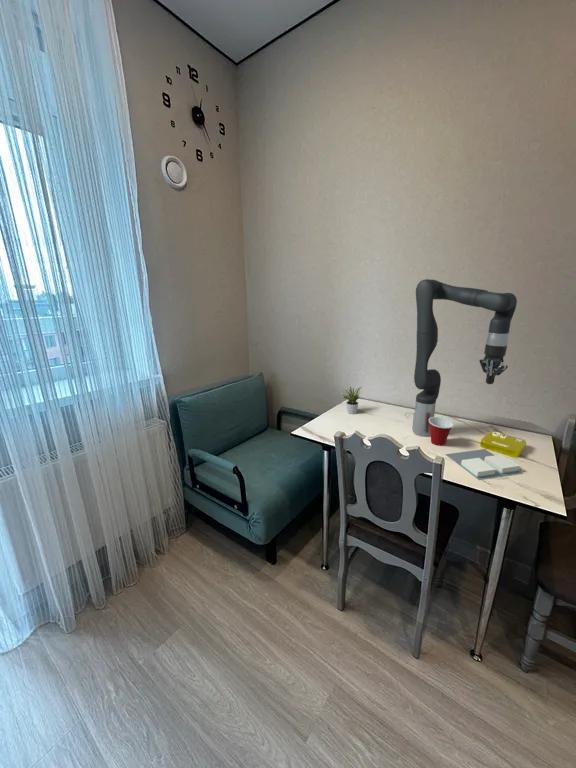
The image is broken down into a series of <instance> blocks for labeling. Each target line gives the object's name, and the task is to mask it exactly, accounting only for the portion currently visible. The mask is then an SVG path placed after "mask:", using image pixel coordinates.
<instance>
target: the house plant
mask: <svg viewBox="0 0 576 768" xmlns="http://www.w3.org/2000/svg"><path fill="white" fill-rule="evenodd" d="M362 388H363V386H361V387H359V388H356V389H355V388H354V387H353V388H352V387H351V386H349V388H347V389H345V388H343V391H345V393H347V394H344V393H340V395H341V396H343V397H341V400H343V399H345V400H347V401H346V409H347V414H348V415H356V414H357V412H358V407H359V402H358V401H357V400H359V399H361V400H363V398H360V394H361V391H362Z"/></svg>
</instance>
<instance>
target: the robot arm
mask: <svg viewBox="0 0 576 768" xmlns="http://www.w3.org/2000/svg"><path fill="white" fill-rule="evenodd" d="M415 300H416V311H417V312H416V353H415V354H416V355H415V366H414V374H413V377H414V378H413V381H414V386H415V388H417V389H418V390H422V391H420V392H419V393H417V394H416V396H415V406H414V412H413V419H412V427H411V429H412V432H413V434H415V435H417V436H419V437H420V436H421V437H430V424H429V418H431V417H435V413H436V404H437V399H438V397H439V393H440V389H441V381H442V379H441V378H442V377H441V373H440V372H439V370H437V369H435V368H433V369H428V366H429V360H430V358H431V356H432V354H433V353H434V351H435V349H436V347H437V345H438V341H439V328H438V324H437V321H436V318H435V315H434V309H433V308H434V307H433V305H434V300H443V301H444V300H446V301H452V302H455V303H458V304H461V305H464V306H465V305H466V306H469V307H475V308H482V309H485V310H488V311H493V312H494V316H493V317H492V318H491V319H490V321H489V326H488V332H487V336H486V340H485V347H484V353H483V354H484V356H483V357H484V358H482V359H479V360H478V361H479V364H480V367H481V369H482V372H483V373H485V374H486V378H485V383H486V384H487V385H493V384H494V383H495V378H496V376H500V375H501V374H503V372H504V371H506V370H507V369H508V367H509V366H508V365H507V364H506V365H505V363H504V361H505V360H504V357H505V356H506V355H507V354H506V353H507V349H508V344H509V334H510V330H511V329H510V328H511V321H512V319H513V316H514V313H515V312H516V311H515V310H516V308H517V303H518V300H517V296H516V295H515V294H514V293H511V292H501V293H500V292H494V291H489V290H486V289H482V288H473V287H463V286H455V285H451V284H448V283H445V282H442V281H439V280H436V279H427V278H426V279H422V280H420V281H419V282H418V283H417V285H416V287H415Z"/></svg>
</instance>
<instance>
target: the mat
mask: <svg viewBox="0 0 576 768" xmlns="http://www.w3.org/2000/svg"><path fill="white" fill-rule="evenodd" d="M494 455H495V454H494V453H492V452H490V450H488V449H485V448H482V449H475V450H467V451H460V452H454V453H446V454H445V456H447V457H448V458H450V459H451V460H452V461H453V462H455V463H456V464H457V465H458V466H460V467H461V468H463V469H464V470H465V471H466V472H467V473H469V474H470V475H471V476H473V477H474V478H475V479H476V480H478V481H484V480H492V479H497V478H504V477H509V476H515V475H522V474H524V473H523V471H520V470H519V471H517V472H511V473H504V474H501V473H499V472H498V471H497V470H496V472H495V475H491V476H484V477H478V478H477V477H476V476H474V475H473V474H472V473H470V472H469V471H468V470H466V469H465V468H464V467H463V466H461V462H462V460H466V459H473V458H480V459H481V460H483V461H484V460H485V457H487V456H494Z"/></svg>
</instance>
